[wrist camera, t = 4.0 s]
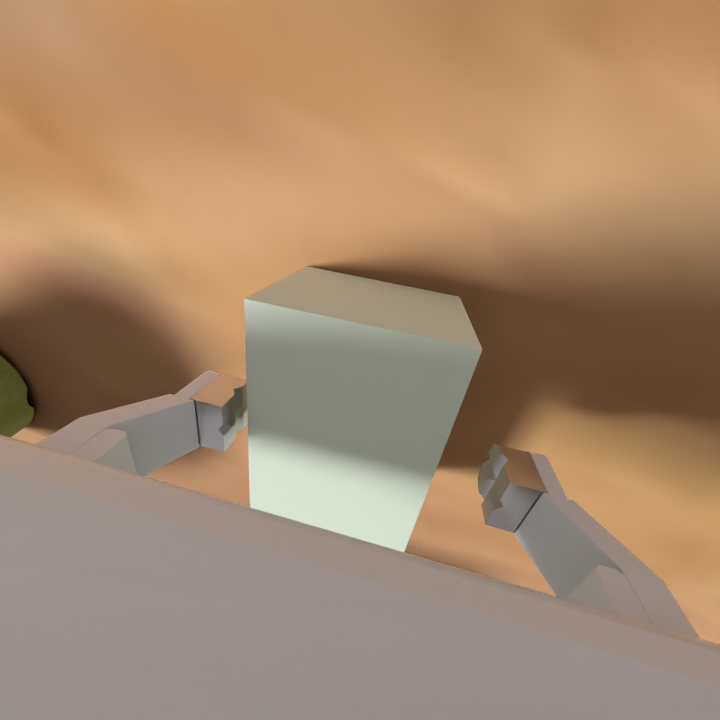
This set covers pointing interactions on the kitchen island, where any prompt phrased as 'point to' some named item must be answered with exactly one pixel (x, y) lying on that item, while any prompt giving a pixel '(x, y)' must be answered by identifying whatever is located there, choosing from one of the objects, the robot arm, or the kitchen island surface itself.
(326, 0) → the kitchen island surface
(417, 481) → the sage brick
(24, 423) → the plant pot
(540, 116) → the kitchen island surface
